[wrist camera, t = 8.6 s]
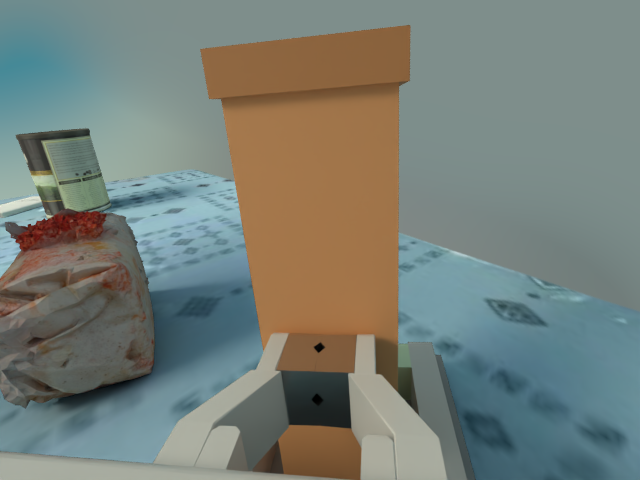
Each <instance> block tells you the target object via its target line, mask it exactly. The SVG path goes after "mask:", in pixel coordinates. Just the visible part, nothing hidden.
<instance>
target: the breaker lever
mask: <svg viewBox="0 0 640 480" xmlns="http://www.w3.org/2000/svg"><path fill="white" fill-rule="evenodd" d="M200 50H201V55H202V62H203V67H204V72H205V78H206V84H207V90H208V95H209V99H221V101H222V107H223V113H224V119H225V125H226V131H227V136H228V142H229V149H230V155H231V160H232V166H233V172H234V178H235V184H236V190H237V196H238V202H239V208H240V214H241V220H242V226H243V232H244V238H245V244H246V250H247V256H248V262H249V268H250V274H251V280H252V286H253V292H254V298H255V304H256V310H257V316H258V322H259V328H260V334H261V340H262V346H263V352H264V350H265V348H266V345H267V343H268V341H269V338H270V336H271V335H272V334H273V333H306V334H323V335H357V334H374V335H375V348H376V374H380V375H382V376H383V377H384V378H385V379H386V380H387V381H388V382H389V383H390V385H391V386H392V387H393V388H394V389H395V390H396V391H397V392H398V216H399V215H398V214H399V212H398V210H399V209H398V204H399V201H398V200H399V194H398V193H399V86H400V85H402V84H404V83H406V82H408V81H410V25H406V26H397V27H388V28H380V29H371V30H362V31H354V32H345V33H336V34H328V35H319V36H310V37H301V38H292V39H284V40H275V41H266V42H257V43H248V44H240V45H231V46H222V47H215V48H214V47H213V48H205V49H200ZM278 441H279V447H280V453H281V459H282V465H283V471H284V474H288V475H301V476H313V477H325V478H338V479H350V480H360V477H361V453H362V448H361V446H360V445H359V443H358V441H357V439H356V437H355V435H354V434H353V432H352V429H350V428H338V427H327V426H308V425H289V427H288V429H287V430H286V431H285V432H284V433H283V434H282V436H281V437H280V438H279V439H278Z"/></svg>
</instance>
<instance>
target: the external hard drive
mask: <svg viewBox="0 0 640 480" xmlns="http://www.w3.org/2000/svg"><path fill="white" fill-rule="evenodd" d="M40 206H43V204H42V202H41V199H40V196H39V197H29V198H25V199H21V200H17V201H13V202H10V203H6V204H2V205H0V218H5V217H8V216H11V215H14V214H18V213H21V212H24V211H27V210H31V209H34V208H37V207H40Z"/></svg>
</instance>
